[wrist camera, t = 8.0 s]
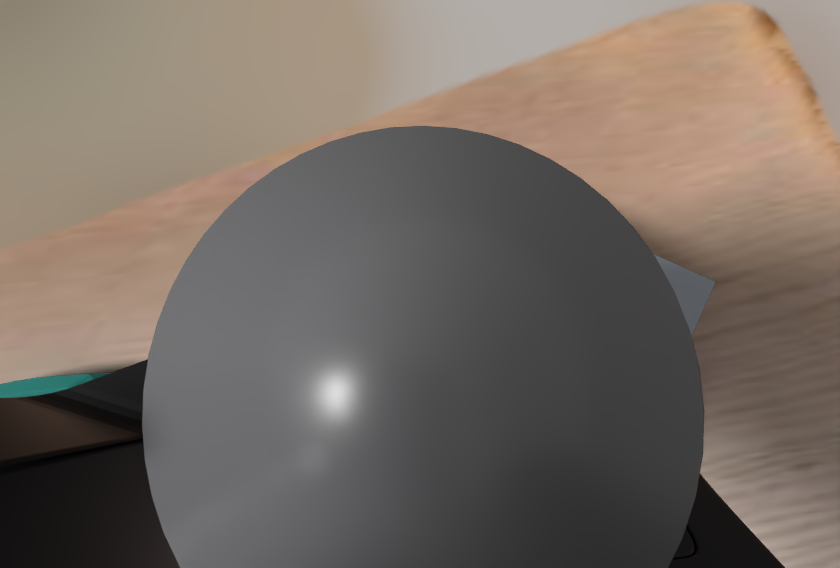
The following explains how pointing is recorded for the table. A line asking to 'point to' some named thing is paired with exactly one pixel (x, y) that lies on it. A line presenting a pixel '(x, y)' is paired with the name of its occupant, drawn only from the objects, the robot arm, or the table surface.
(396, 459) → the grey capped shaker bottle
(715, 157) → the table surface
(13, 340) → the table surface
